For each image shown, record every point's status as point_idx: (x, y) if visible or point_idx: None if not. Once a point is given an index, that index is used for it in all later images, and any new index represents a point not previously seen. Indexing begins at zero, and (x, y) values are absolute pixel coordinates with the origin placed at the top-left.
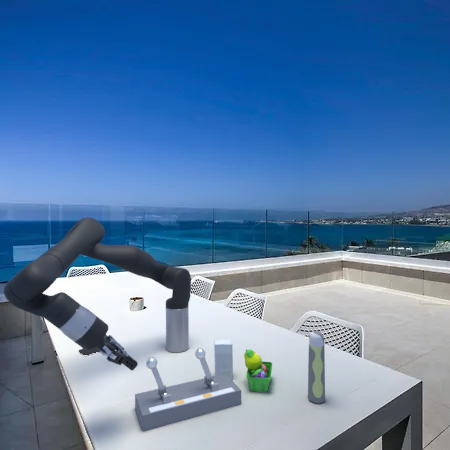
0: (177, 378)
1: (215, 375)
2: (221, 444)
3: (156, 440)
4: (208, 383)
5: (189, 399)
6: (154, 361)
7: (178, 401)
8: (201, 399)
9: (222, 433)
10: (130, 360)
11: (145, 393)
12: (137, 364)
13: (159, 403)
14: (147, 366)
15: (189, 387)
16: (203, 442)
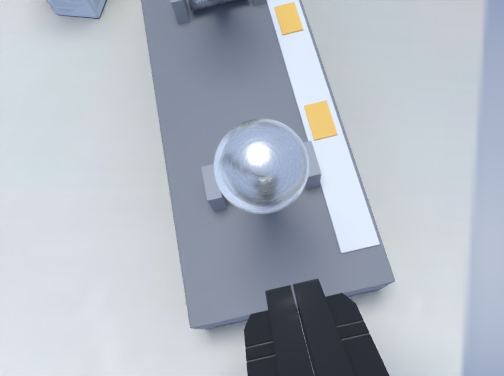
0: (27, 148)
1: (91, 3)
2: (478, 36)
3: (441, 234)
4: (214, 2)
5: (303, 82)
6: (292, 132)
7: (315, 123)
8: (311, 41)
9: (424, 28)
10: (364, 353)
11: (198, 273)
12: (317, 280)
13: (304, 205)
14: (291, 202)
15: (201, 80)
16: (465, 84)
